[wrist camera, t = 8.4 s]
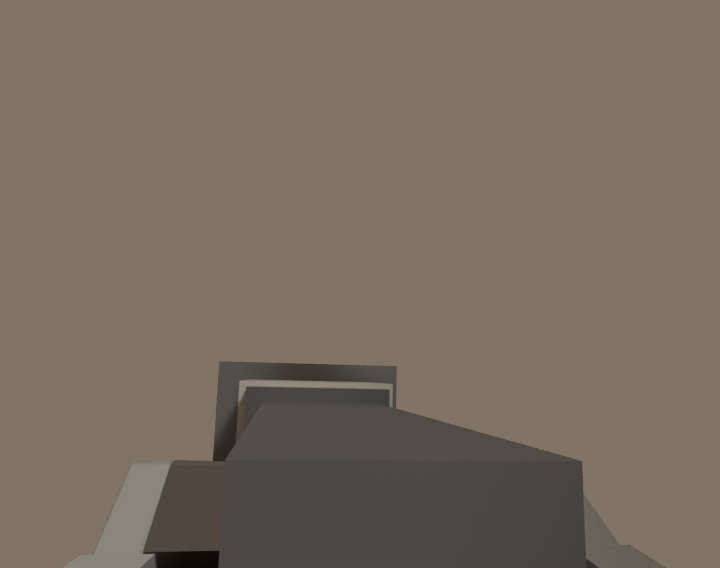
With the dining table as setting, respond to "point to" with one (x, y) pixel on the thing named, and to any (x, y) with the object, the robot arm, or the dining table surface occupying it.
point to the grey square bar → (387, 487)
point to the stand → (280, 371)
